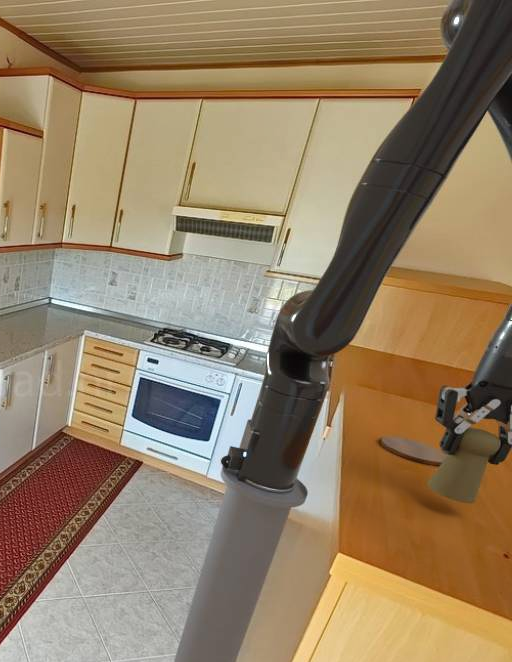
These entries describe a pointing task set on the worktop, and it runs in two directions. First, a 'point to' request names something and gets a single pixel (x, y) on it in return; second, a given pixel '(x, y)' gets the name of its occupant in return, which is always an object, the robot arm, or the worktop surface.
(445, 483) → the cork
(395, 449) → the disc
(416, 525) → the worktop surface
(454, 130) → the robot arm
